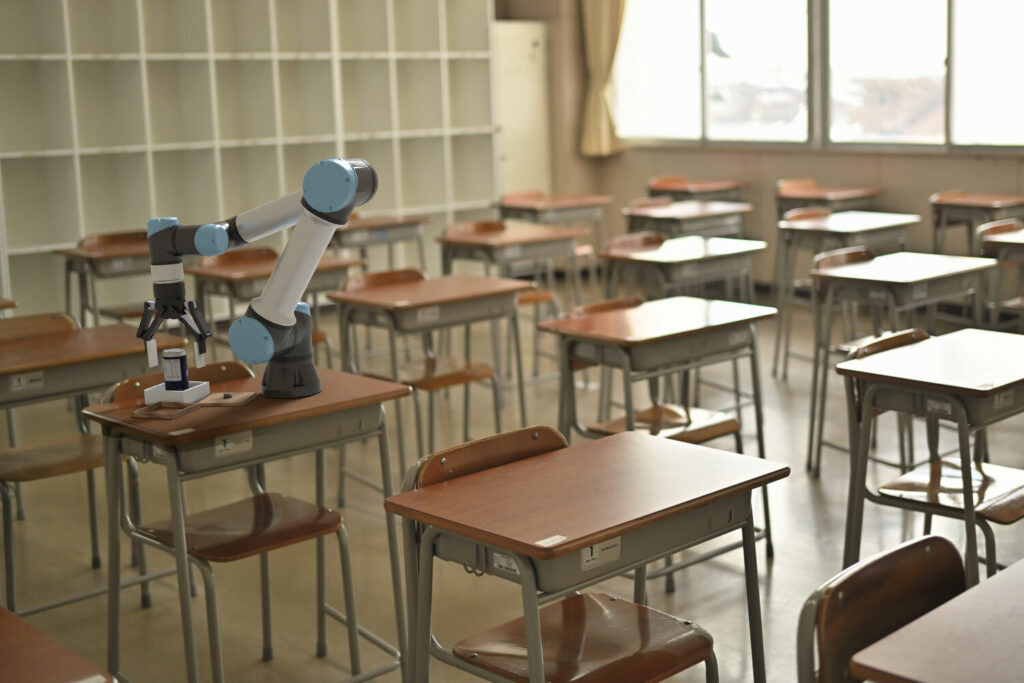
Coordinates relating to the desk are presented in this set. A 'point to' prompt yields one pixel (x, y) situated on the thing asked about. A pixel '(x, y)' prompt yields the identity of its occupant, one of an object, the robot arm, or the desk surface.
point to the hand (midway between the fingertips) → (177, 366)
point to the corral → (146, 414)
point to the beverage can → (175, 370)
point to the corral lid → (228, 399)
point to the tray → (177, 393)
